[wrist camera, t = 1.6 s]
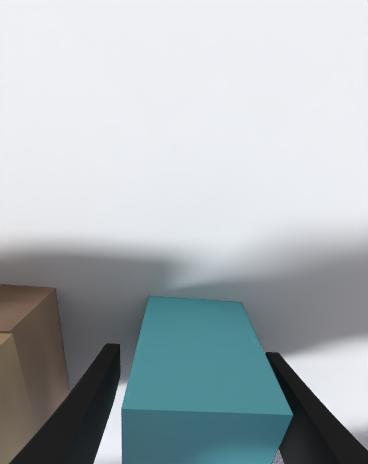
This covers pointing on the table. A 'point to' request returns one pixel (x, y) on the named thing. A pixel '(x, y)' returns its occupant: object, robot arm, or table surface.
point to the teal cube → (201, 388)
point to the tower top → (13, 403)
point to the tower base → (36, 345)
